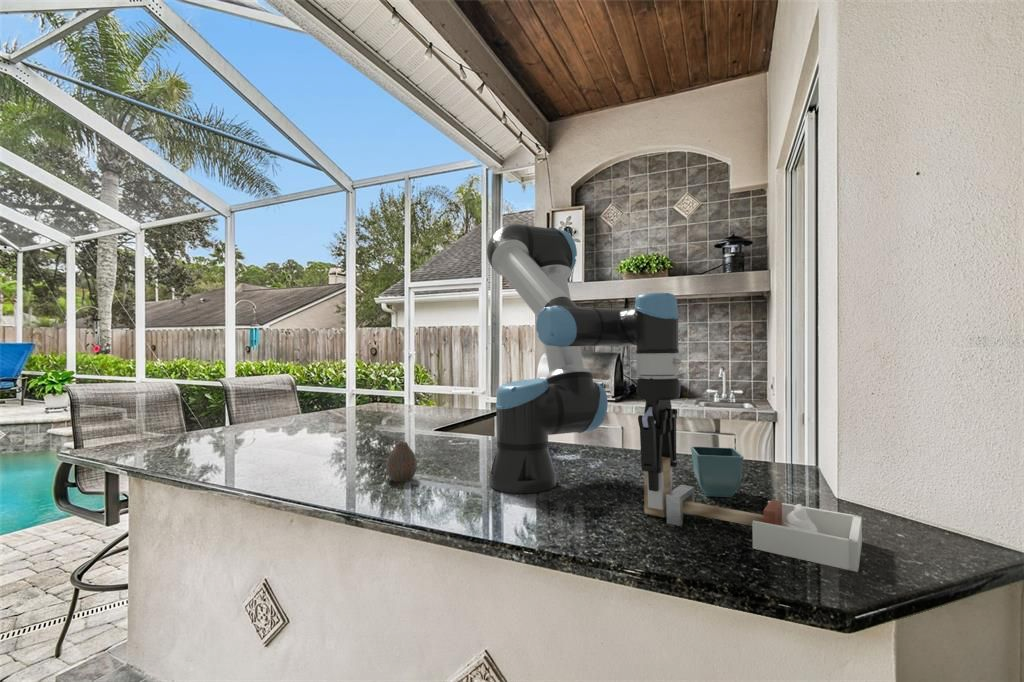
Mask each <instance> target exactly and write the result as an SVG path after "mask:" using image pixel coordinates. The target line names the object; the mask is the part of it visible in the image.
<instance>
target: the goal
mask: <svg viewBox="0 0 1024 682" xmlns="http://www.w3.org/2000/svg"><path fill="white" fill-rule="evenodd" d="M770 501H771V500H768V501H767V504H768V503H769V502H770ZM796 505H797V504H792V503H791V504H790V503H785V502H784V503H783V502H782V522H783V521H784V520H785V519H786V517H787V515H788V514H789V513H791V512H792V511H794V508H795V506H796ZM802 506H803V505H802ZM803 508H805V509H806V512H807V515H808V517H809V519H810V520H811V522H813V523H814V525H815V526H816V528H817V532H818V533H816V532H811V531H806V530H800V529H795V528H790V527H785V526H780V525H775V524H769V523H764V522H759V521H754V520H753V522H752V526H751V529H752V549H755V550H758V551H762V552H767V553H772V554H776V555H779V556H780V555H781V556H785V557H789V558H793V559H797V560H803V561H808V562H812V563H815V564H820V565H823V566H829V567H833V568H837V569H842V570H845V571H846V570H847V571H850V572H851V571H852V572H855V573H858V572H859V570H860V569H859V567H860V561H861V553H862V545H863V528H862V527H863V526H862V525H863V523H862V522H863V521H862V518H863V517H862V515H857V514H850V513H844V512H838V511H831V510H827V509H821V508H815V507H808V506H803Z"/></svg>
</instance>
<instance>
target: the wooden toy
mask: <svg viewBox="0 0 1024 682" xmlns="http://www.w3.org/2000/svg"><path fill="white" fill-rule="evenodd" d="M661 472H663V480H664V509H663V510H660V509H655V508H650V507H648V485H647V471H643V477H644V478H643V491H644V492H643V493H644V495H643V496H644V497H643V498H644V499H643V500H644V501H643V502H644V504H643V505H644V506H643V507H644V515H645V514H646V515H651V516H655V517H660V518H665V517H667V506H666V494H668V493H669V492H671V479H670V458H668V457H662V459H661ZM769 501H770V502H769V503H768V502H767V505H766V506H765V508H764V509H763V514H759V513H754V512H749V511H743V510H739V509H738V510H737V509H732V508H727V507H721V506H716V505H710V504H706V503H705V504H704V503H700V502H695V501H694V502H690V501H684V500H683V512H685V513H690V514H694V515H696V516H701V517H706V518H711V519H715V520H716V519H717V520H721V521H727V522H731V523H734V524H735V523H737V524H741V525H746V526H751V527H752V522H753V520H754V521H759V522H764V523H769V524H775V525H780V526H781V524H782V503H783V502H782V501H778V500H773V499H772V500H769Z"/></svg>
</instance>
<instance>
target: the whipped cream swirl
mask: <svg viewBox="0 0 1024 682" xmlns="http://www.w3.org/2000/svg"><path fill="white" fill-rule="evenodd" d="M795 505H796V506H795V508H794V511H792V512H791V513H789V514H788V515H787V517H786V519H785V520H784V521H783V522H782V524H781V526H785V527H790V528H795V529H800V530H806V531H811V532H816V533H818V532H817V528H816V526H815V525H814V523H813V522H811V520H810V519H809V517H808V515H807V512H806V509H805V508H803V504H802V503H797V504H795Z"/></svg>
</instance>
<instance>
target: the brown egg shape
mask: <svg viewBox="0 0 1024 682" xmlns="http://www.w3.org/2000/svg"><path fill="white" fill-rule="evenodd" d="M417 469H418V460H417V456H416V454H415V452H414V451H413V449H411V447H410V445H409V443H408V442H407V441H399V442H396V444H395V447H393V450H391V452H390V454H389V455H388V457H387V461H386V471H387V474H388V477H389V478H390V479H391V480H392V481H393V482H395V483H405V482H409V481H411V480H412V479H413V478H414V476H415V475H416V472H417Z"/></svg>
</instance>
